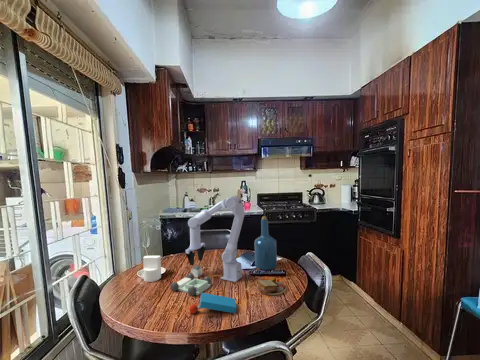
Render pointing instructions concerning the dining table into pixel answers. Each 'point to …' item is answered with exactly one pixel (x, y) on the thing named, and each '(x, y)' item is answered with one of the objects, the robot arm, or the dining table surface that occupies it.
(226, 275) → the robot arm
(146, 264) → the cylinder with rectangular tab
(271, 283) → the toy sandwich meal
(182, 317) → the dining table surface
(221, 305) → the lever
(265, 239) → the wine bottle
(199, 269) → the grey boxy piece
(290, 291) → the dining table surface
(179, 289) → the chassis
